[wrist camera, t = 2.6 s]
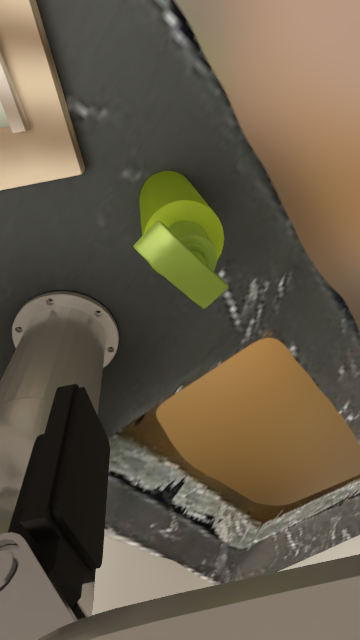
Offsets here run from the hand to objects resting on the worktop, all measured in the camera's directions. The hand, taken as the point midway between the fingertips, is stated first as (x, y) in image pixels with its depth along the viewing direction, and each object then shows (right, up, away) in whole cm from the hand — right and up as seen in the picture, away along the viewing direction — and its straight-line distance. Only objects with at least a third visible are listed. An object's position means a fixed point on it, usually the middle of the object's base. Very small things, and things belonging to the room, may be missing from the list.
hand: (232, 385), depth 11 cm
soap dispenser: (-3, +15, +24) cm, 28 cm away
